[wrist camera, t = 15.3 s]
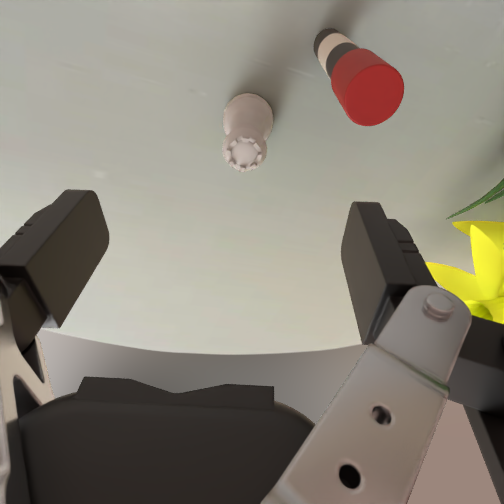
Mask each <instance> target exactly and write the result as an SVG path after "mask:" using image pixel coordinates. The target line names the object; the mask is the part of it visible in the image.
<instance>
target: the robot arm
mask: <svg viewBox="0 0 504 504" xmlns="http://www.w3.org/2000/svg"><path fill="white" fill-rule="evenodd" d="M413 242H414V241H413V239H412V237H411V235H410V233H409V232H408V230H407V229H406V228H405V227H404V226H403V225H401V224H400V223H399V222H398V221H397V220H395V219H387V217H386V215H385V213H384V211H383V209H382V207H381V205H380V203H378V202H355V201H354V202H353V203H352V205H351V208H350V211H349V215H348V220H347V224H346V228H345V232H344V236H343V240H342V246H341V259H342V264H343V268H344V272H345V276H346V280H347V284H348V288H349V292H350V296H351V300H352V304H353V308H354V312H355V316H356V320H357V325H358V329H359V333H360V337H361V341H362V344H364V345H368V347H367V348H366V350H365V351H364V353H363V354H362V356H361V357H360V359H359V360H358V362H357V363H356V365H355V366H354V368H353V369H352V371H351V372H350V374H349V375H348V377H347V378H346V380H345V381H344V383H343V384H342V386H341V387H340V389H339V390H338V392H337V393H336V395H335V396H334V398H333V399H332V401H331V402H330V404H329V405H328V407H327V408H326V410H325V411H324V413H323V414H322V416H321V417H320V419H319V420H318V422H317V423H316V424H315V423H313V422H312V421H311V420H310V419H308V418H307V417H306V416H305V415H303V414H301V413H300V412H298V411H297V410H295V409H293V408H291V407H289V406H287V405H285V404H283V403H280V402H276V401H274V387H273V386H272V387H271V386H255V385H236V384H225V385H220V386H214V387H210V388H204V389H199V390H194V391H189V392H184V393H171V392H168V391H165V390H162V389H159V388H156V387H153V386H150V385H146V384H143V383H141V382H138V381H135V380H132V379H121V378H102V377H84V378H83V380H82V382H81V384H80V386H79V389H78V391H77V392H75V393H71V394H68V395H65V396H61V397H59V398H56V399H55V397H54V394H53V391H52V388H51V384H50V380H49V375H48V371H47V367H46V363H45V359H44V355H43V351H42V347H41V343H40V340H39V338H38V337H37V335H36V334H37V333H38V331H39V330H40V328H41V327H42V328H60V327H61V325H62V324H63V322H64V320H65V319H66V317H67V315H68V314H69V312H70V310H71V309H72V307H73V305H74V304H75V302H76V300H77V299H78V297H79V295H80V294H81V292H82V290H83V289H84V287H85V285H86V284H87V282H88V280H89V279H90V277H91V275H92V274H93V272H94V270H95V269H96V267H97V265H98V264H99V262H100V260H101V259H102V257H103V255H104V254H105V252H106V250H107V248H108V245H109V231H108V228H107V225H106V221H105V218H104V215H103V212H102V209H101V206H100V202H99V199H98V197H97V195H96V193H95V192H94V191H92V190H70V189H68V190H65V191H64V192H63V193H62V194H61V195H60V196H59V197H58V198H57V199H56V200H55V201H54V202H53V203H52V205H51V204H50V205H49V206H47V207H45V208H43V209H41V210H40V211H38V212H36V213H34V214H33V216H32V217H31V218H30V219H29V220H28V221H27V222H26V223H25V224H24V226H22V227H21V228H20V229H19V230H18V231H17V232H16V235H13V236H12V237H11V238H10V239H9V240H8V241H7V242H6V243H5V244H4V245H3V246H2V247H1V248H0V504H407V502H408V500H409V497H410V494H411V492H412V489H413V486H414V484H415V481H416V479H417V476H418V474H419V471H420V468H421V466H422V463H423V461H424V458H425V456H426V453H427V451H428V448H429V445H430V442H431V440H432V437H433V435H434V432H435V430H436V427H437V425H438V422H439V419H440V417H441V414H442V412H443V409H444V406H445V404H446V401H447V399H448V400H452V401H454V402H457V403H460V404H463V406H464V409H465V411H466V414H467V416H468V419H469V422H470V424H471V427H472V429H473V432H474V435H475V437H476V440H477V443H478V445H479V448H480V450H481V453H482V456H483V458H484V461H485V463H486V466H487V468H488V471H489V473H490V476H491V479H492V482H493V484H494V487H495V489H496V492H497V495H498V497H499V500H500V502H501V504H504V324H501V323H498V322H494V321H491V320H487V319H484V318H480V317H477V316H474V315H471V312H470V310H469V308H468V306H467V305H466V304H465V303H464V302H463V301H462V300H461V299H460V298H459V297H457V296H456V295H454V294H453V293H451V292H449V291H447V290H445V289H442V288H439V287H438V286H437V284H436V282H435V280H434V278H433V277H432V275H431V273H430V271H429V269H428V267H427V265H426V263H425V262H424V260H423V258H422V256H421V254H420V253H419V250H418V248H417V247H416V245H415V244H414V243H413Z"/></svg>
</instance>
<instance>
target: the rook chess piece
mask: <svg viewBox="0 0 504 504" xmlns="http://www.w3.org/2000/svg"><path fill="white" fill-rule="evenodd" d="M273 120H274V118H273V113H272V109H271V107H270V106H269V104H268V103H267V102H266V100H265V99H263V98H261V97H260V96H258V95H256V94H249V93H245V94H241V95H238V96H236V97H234V98H233V99H232V100H231V101H230V102H229V103H228V104H227V106H226V108H225V110H224V117H223V127H224V130H225V133H226V135H227V136H226V138H225V140H224V142H223V149H222V152H223V155H224V158H225V160H226V161H227V162H228V163H229V165H230V166H231V167H232V168H233V167H234V168H236V169H237V170H239V171H241V172H246V171H248V170H253V169H255V168H257V167H258V166H260V165H261V164H262V162H263V161H264V159H265V158H266V153H267V146H266V142H265V141H266V140H267V138H268V137H269V135H270V134H271V132H272V126H273Z"/></svg>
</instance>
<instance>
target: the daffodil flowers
mask: <svg viewBox="0 0 504 504" xmlns="http://www.w3.org/2000/svg"><path fill="white" fill-rule="evenodd" d="M503 188H504V179H503V180H502V181H501V182H500V183H499V184H498V185H497V186H496V187H494V188H493V189H492V190H491V191H490V192H488V193H487V194H486V195H485V196H483V197H482V198H481V199H479V200H477V201H476V202H474V203H473V204H471V205H469V206H468V207H466V208H464V209H462V210H461V211H459V212H457V213H455V214H453V215H452V216H450V217H448V218H447V219H449V218H451V217H453V216H456V215H458V214H461V213H463V212H465V211H468V210H470V209H472V208H474V207H476V206H477V205H479V204H481V203H483V202H485V201H486V202H485V204H486V203H488V202H490V201H493V200H495V199H497V198H500V197H502V196H504V190H502V189H503ZM500 190H502V191H501V192H499V191H500ZM497 192H499V193H498V194H496V193H497ZM495 194H496V195H495ZM493 195H495V196H493ZM492 196H493V197H492ZM491 197H492V198H491ZM489 198H490V199H489ZM488 199H489V200H488ZM487 200H488V201H487ZM453 225H454V226H455V227H456V228H457V229H459V230H460V231H462V232H463V233H465V234H467V235H468V236H470V237H471V248H472V256H473V262H474V268H475V274H476V276H475V275H472V274H470V273H468V272H465V271H463V270H461V269H458V268H456V267H451V266H447V265H442V264H437V263H431V262H425V263H426V265H427V267H428V269H429V271H430V273H431V275H432V277H433V278H434V280H436V281H437V282H438V283H439V284H440V285H441V286H443V287H444V288H445V289H446V290H447V291H449V292H451V293H453V294H454V295H456V296H457V297H459V298H460V299H461V300H462V301H463V302H464V303H465V304H466V305H467V306H468V308H469V310H470V312H471V315H474V316H477V317H480V318H484V319H487V320H491V321H494V322H498V323H501V324H504V222H492V221H459V222H453Z"/></svg>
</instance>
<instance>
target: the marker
mask: <svg viewBox="0 0 504 504" xmlns="http://www.w3.org/2000/svg"><path fill="white" fill-rule="evenodd" d="M314 52H315V55H316V56H317V58H318V60H319V62H320V64H321V65H322V67H323V69H324V70H325V72H326V74H327V75H328V77H329V78H330V79H331V85H332V89H333V91H334V93H335V95H336V97H337V98H338V100H339V102H340V104H341V105H342V107H343V109H344V110H345V112H346V114H347V116H348V117H349V118H350V119H351V120H352V121H353V122H354V123H356V124H358V125H362V126H373V125H377V124H380V123H382V122H384V121H385V120H387V119H388V118H389V117H391V116H392V115H393V114H394V113H395V111H396V110H397V109H398V107H399V105H400V103H401V101H402V98H403V94H404V83H403V79H402V77H401V75H400V73H399V72H398V71H397V70H396V69H395V68H394V67H392V66H391V65H389V64H388V63H387V62H385V61H384V60H383V59H381V58H380V57H378V56H377V55H376V54H374V53H373V52H371V51H369V50H367V49H360V48H359V47H358V46H357V45H356V44H355V43H353V42H352V41H351V40H349V39H348V38H347V37H345V36H344V35H342V34H341V33H339V32H338V31H337V30H335V29H332V28H328V29H325V30H323V31H321V32H320V33H319V34H318V35H317V37H316V39H315V41H314Z"/></svg>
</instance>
